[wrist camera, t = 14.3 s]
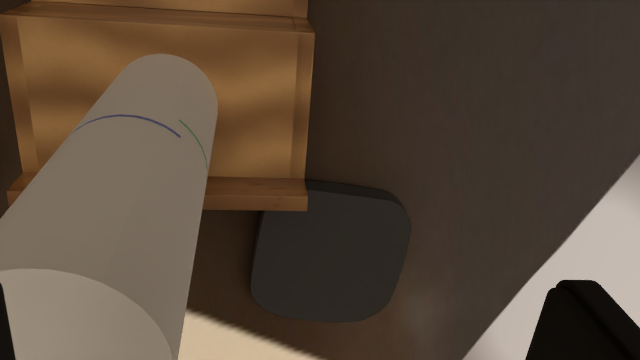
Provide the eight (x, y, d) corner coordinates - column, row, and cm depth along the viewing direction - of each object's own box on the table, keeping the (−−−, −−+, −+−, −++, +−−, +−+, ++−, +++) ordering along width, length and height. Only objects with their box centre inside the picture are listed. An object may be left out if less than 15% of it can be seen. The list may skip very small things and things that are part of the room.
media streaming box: (267, 172, 52) (268, 185, 50) (414, 191, 55) (422, 206, 52) (244, 298, 58) (244, 316, 56) (378, 310, 61) (384, 329, 58)
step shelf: (26, -187, 39) (-69, -231, 27) (313, -157, 42) (337, -185, 30) (65, 137, 49) (8, 207, 37) (294, 144, 52) (307, 211, 40)
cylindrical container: (140, 32, 36) (-37, 224, 14) (237, 89, 39) (218, 332, 16) (93, 121, 38) (-126, 413, 16) (187, 170, 41) (110, 484, 18)
